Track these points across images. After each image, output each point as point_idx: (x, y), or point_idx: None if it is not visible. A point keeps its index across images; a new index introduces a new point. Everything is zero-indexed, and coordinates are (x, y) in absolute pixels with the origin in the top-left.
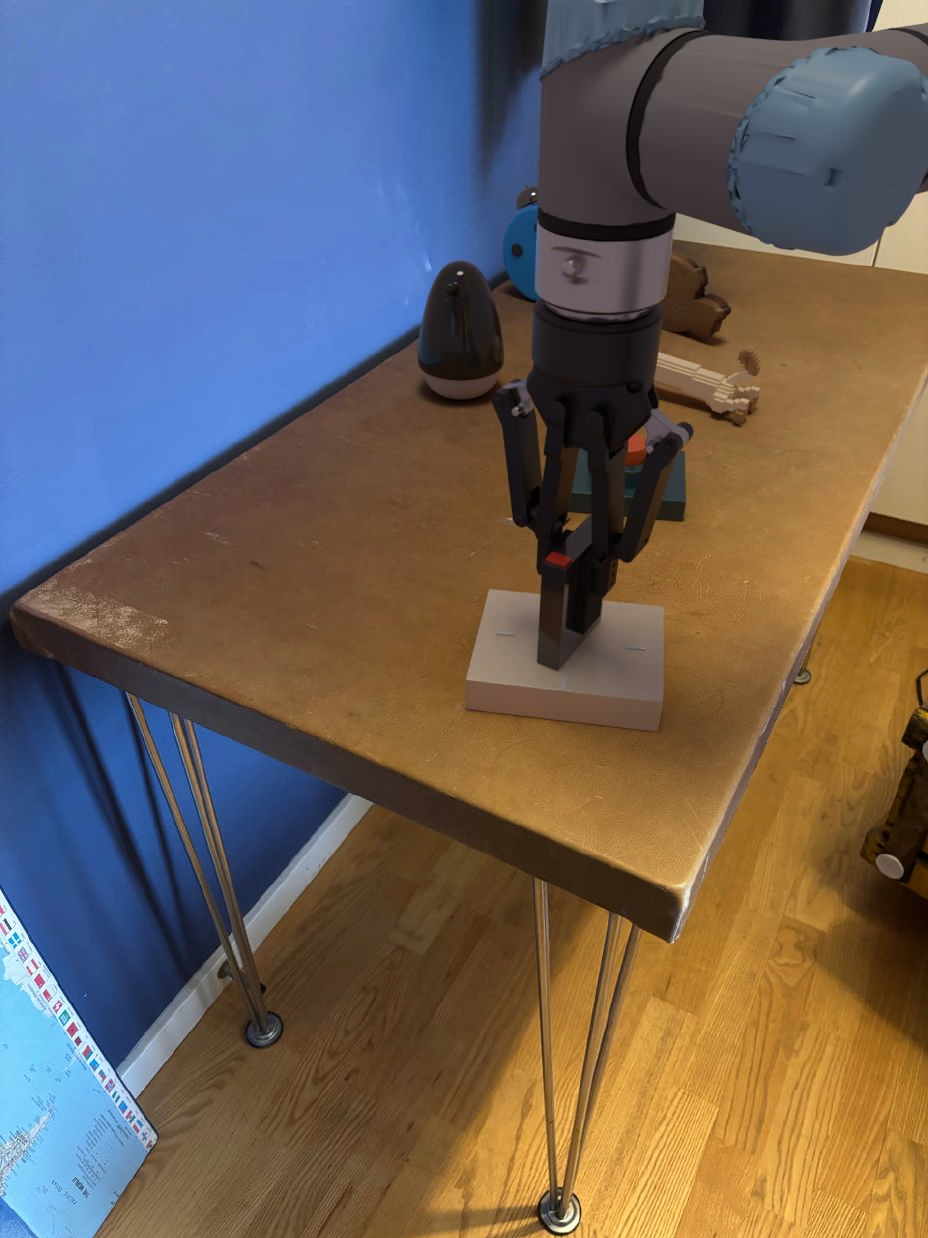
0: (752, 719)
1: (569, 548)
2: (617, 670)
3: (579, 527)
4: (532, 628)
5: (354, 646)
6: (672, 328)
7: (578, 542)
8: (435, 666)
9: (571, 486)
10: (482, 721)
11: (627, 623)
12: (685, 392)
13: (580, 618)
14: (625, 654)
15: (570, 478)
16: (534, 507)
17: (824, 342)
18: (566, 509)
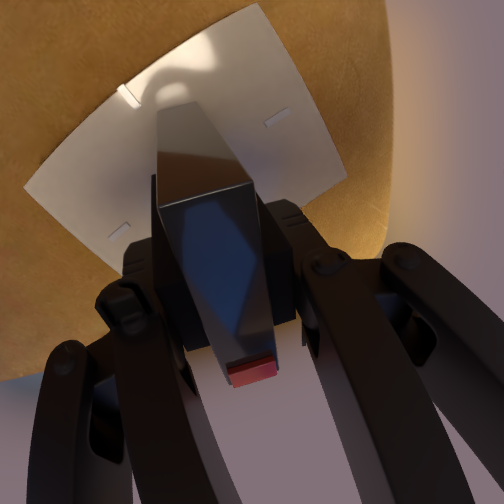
0: (388, 82)
1: (240, 341)
2: (281, 171)
3: (191, 280)
4: (133, 195)
5: (23, 299)
6: None
7: (242, 319)
8: (82, 261)
9: (203, 454)
10: None
11: (234, 76)
12: None
13: None
14: (272, 137)
15: (224, 499)
16: (105, 400)
17: None
18: (178, 372)
